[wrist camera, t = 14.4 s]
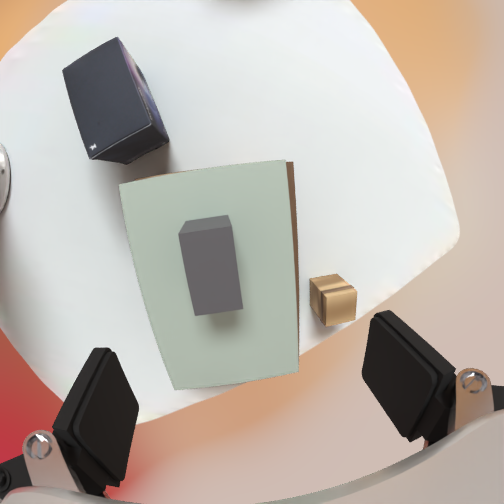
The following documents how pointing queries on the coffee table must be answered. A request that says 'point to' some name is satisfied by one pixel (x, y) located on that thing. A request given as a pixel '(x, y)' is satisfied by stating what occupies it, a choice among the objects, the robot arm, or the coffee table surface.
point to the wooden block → (333, 299)
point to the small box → (113, 105)
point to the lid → (217, 271)
